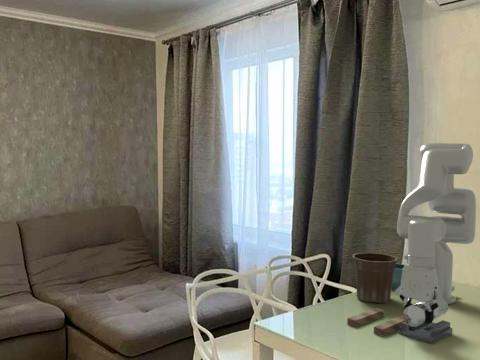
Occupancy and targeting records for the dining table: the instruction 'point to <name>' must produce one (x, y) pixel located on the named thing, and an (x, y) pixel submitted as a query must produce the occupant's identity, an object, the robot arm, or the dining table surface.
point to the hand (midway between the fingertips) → (418, 319)
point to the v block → (427, 331)
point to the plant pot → (374, 276)
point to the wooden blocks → (375, 314)
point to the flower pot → (397, 275)
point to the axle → (422, 313)
